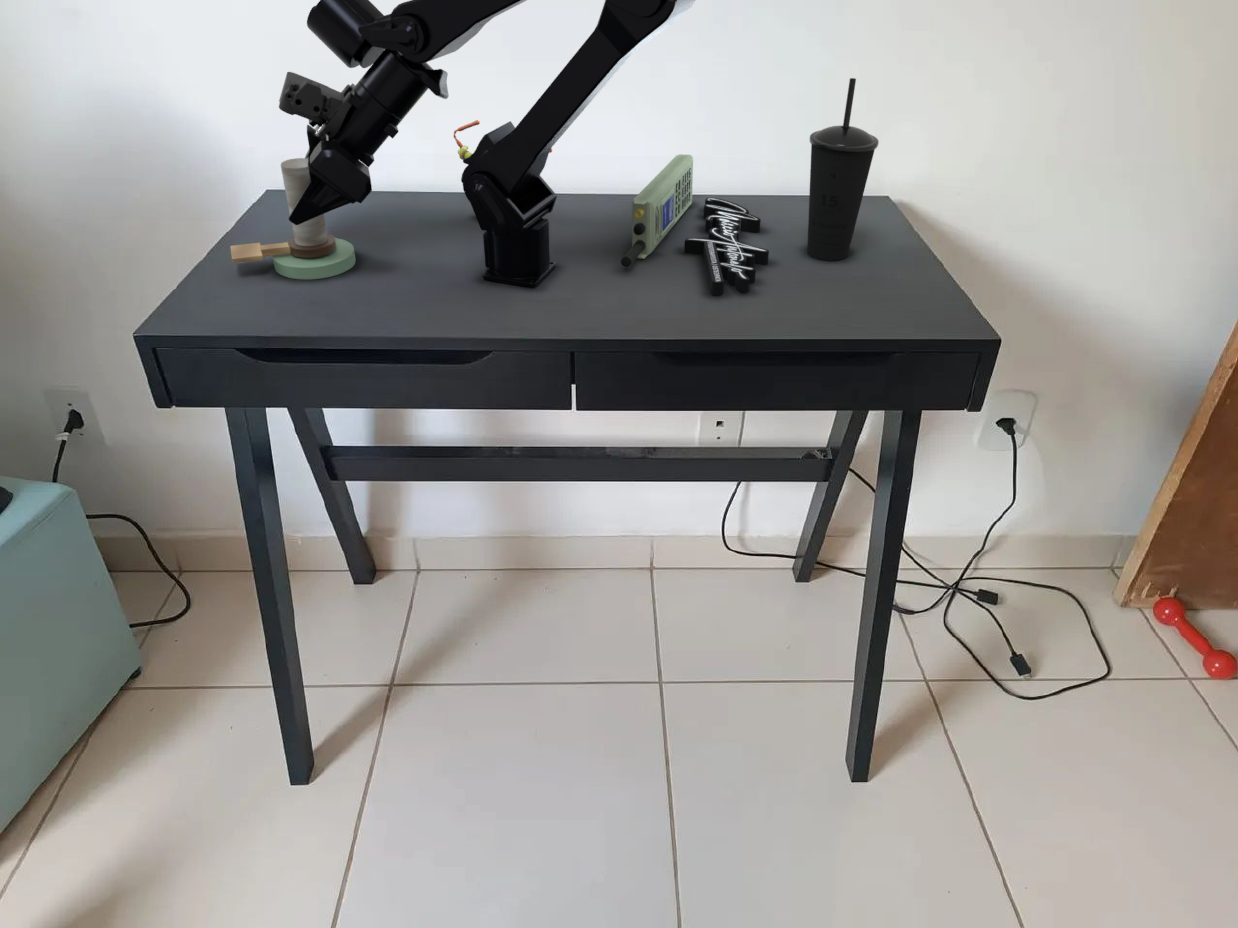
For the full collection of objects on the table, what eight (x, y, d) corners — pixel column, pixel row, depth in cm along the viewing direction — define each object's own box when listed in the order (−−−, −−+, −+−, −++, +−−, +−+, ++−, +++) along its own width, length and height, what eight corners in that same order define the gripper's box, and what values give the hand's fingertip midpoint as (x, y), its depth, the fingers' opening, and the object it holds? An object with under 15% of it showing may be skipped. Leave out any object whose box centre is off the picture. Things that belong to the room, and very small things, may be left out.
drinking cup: (796, 239, 118) (818, 69, 106) (859, 244, 117) (888, 73, 105) (793, 262, 112) (816, 84, 100) (859, 268, 110) (889, 89, 99)
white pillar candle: (333, 238, 111) (319, 154, 105) (339, 254, 107) (325, 167, 101) (231, 250, 107) (211, 163, 102) (233, 267, 103) (213, 178, 98)
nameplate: (677, 197, 125) (753, 198, 125) (677, 208, 126) (752, 209, 126) (691, 282, 103) (783, 283, 103) (690, 295, 104) (781, 296, 104)
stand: (370, 255, 111) (368, 243, 110) (327, 284, 104) (324, 272, 103) (304, 244, 114) (302, 232, 113) (258, 272, 107) (255, 260, 106)
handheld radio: (695, 205, 127) (640, 275, 108) (672, 203, 128) (612, 272, 109) (697, 155, 124) (639, 218, 104) (672, 153, 125) (611, 215, 105)
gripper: (316, 27, 104) (231, 136, 108) (319, 65, 89) (221, 188, 93) (397, 98, 110) (314, 198, 114) (412, 144, 96) (317, 257, 99)
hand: (292, 208), depth 105 cm, fingers open, 8 cm apart
